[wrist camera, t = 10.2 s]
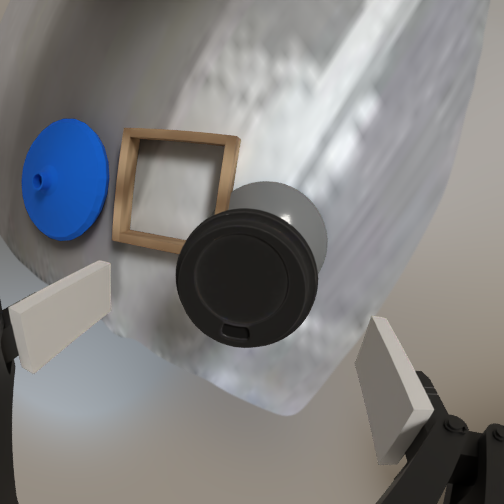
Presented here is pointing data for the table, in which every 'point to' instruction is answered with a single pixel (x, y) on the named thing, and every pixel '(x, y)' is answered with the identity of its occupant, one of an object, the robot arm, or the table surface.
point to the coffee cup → (246, 278)
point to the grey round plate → (286, 211)
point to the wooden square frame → (128, 177)
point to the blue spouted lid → (65, 179)
